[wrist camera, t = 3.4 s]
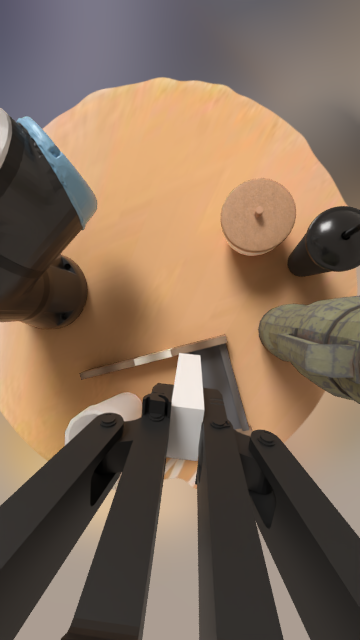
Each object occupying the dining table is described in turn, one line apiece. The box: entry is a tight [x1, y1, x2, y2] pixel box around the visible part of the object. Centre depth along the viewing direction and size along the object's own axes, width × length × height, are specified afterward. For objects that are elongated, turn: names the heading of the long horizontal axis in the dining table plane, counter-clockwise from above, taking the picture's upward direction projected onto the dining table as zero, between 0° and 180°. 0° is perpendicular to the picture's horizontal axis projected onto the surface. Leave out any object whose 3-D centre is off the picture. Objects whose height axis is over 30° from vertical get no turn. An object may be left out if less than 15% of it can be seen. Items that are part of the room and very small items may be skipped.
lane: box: [80, 334, 252, 436], centre depth 45 cm, size 28×18×3 cm, turn 105°
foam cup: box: [65, 392, 142, 445], centre depth 41 cm, size 10×9×13 cm
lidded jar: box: [221, 178, 296, 256], centre depth 39 cm, size 11×11×9 cm
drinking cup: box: [288, 206, 360, 276], centre depth 32 cm, size 8×8×20 cm
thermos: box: [258, 296, 360, 404], centre depth 26 cm, size 9×12×35 cm
